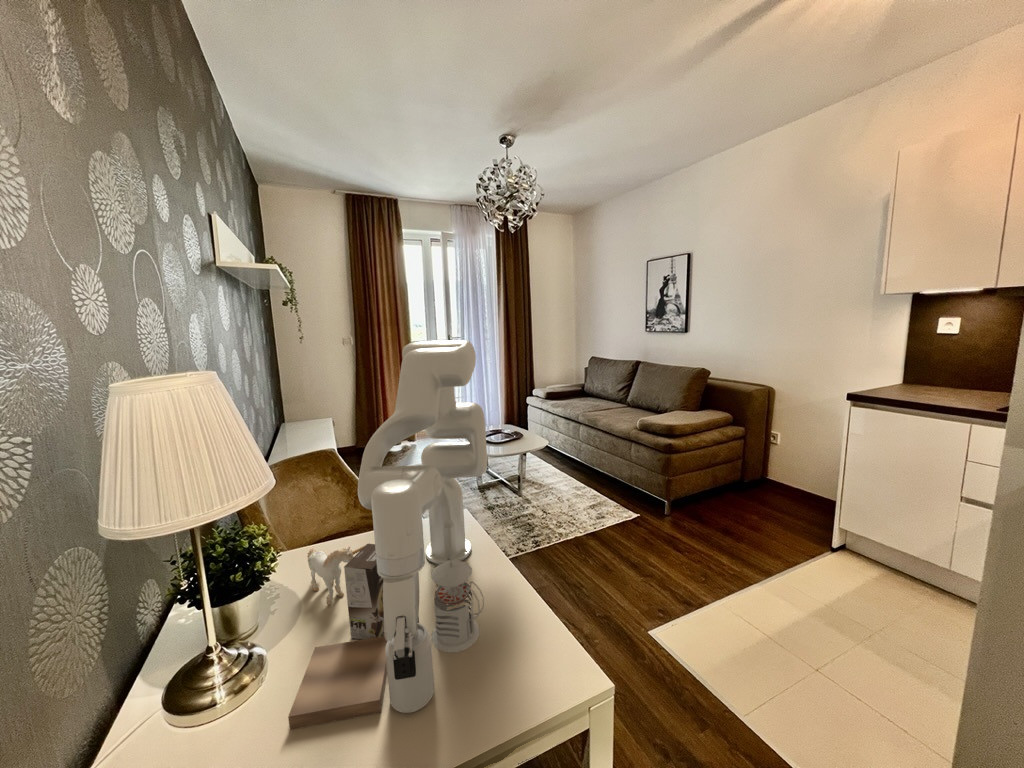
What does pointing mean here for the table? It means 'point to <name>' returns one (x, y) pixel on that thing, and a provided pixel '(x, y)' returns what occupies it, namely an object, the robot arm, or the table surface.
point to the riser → (341, 683)
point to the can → (415, 689)
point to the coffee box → (364, 595)
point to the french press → (456, 623)
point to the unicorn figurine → (329, 568)
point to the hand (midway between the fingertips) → (408, 652)
